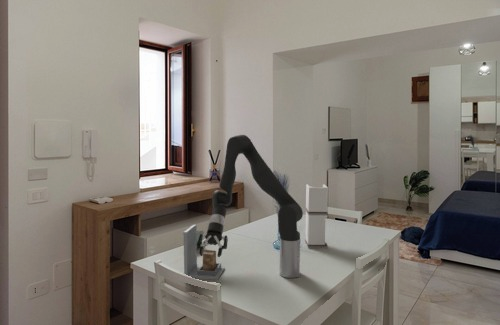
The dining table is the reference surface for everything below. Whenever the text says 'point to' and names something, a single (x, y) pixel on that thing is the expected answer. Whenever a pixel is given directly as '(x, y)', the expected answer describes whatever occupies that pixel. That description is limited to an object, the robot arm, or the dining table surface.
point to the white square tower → (316, 216)
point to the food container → (198, 235)
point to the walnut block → (209, 260)
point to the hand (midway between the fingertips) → (209, 255)
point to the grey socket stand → (191, 258)
